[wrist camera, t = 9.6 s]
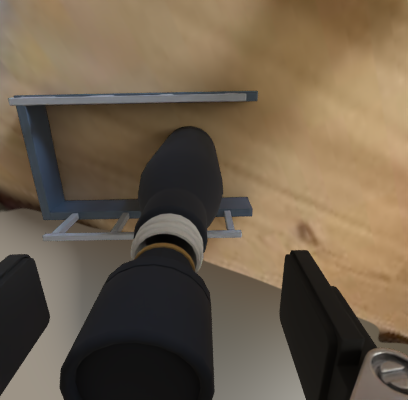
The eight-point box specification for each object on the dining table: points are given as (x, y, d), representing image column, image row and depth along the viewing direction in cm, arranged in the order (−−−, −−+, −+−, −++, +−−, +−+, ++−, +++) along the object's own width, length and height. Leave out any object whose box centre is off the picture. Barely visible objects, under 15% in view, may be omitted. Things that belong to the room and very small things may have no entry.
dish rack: (251, 90, 33) (270, 90, 24) (247, 203, 37) (261, 239, 29) (34, 95, 33) (-30, 96, 24) (59, 207, 38) (14, 243, 29)
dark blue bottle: (220, 170, 36) (285, 451, 8) (172, 182, 36) (69, 486, 8) (208, 120, 34) (236, 257, 6) (156, 133, 34) (-54, 321, 6)
